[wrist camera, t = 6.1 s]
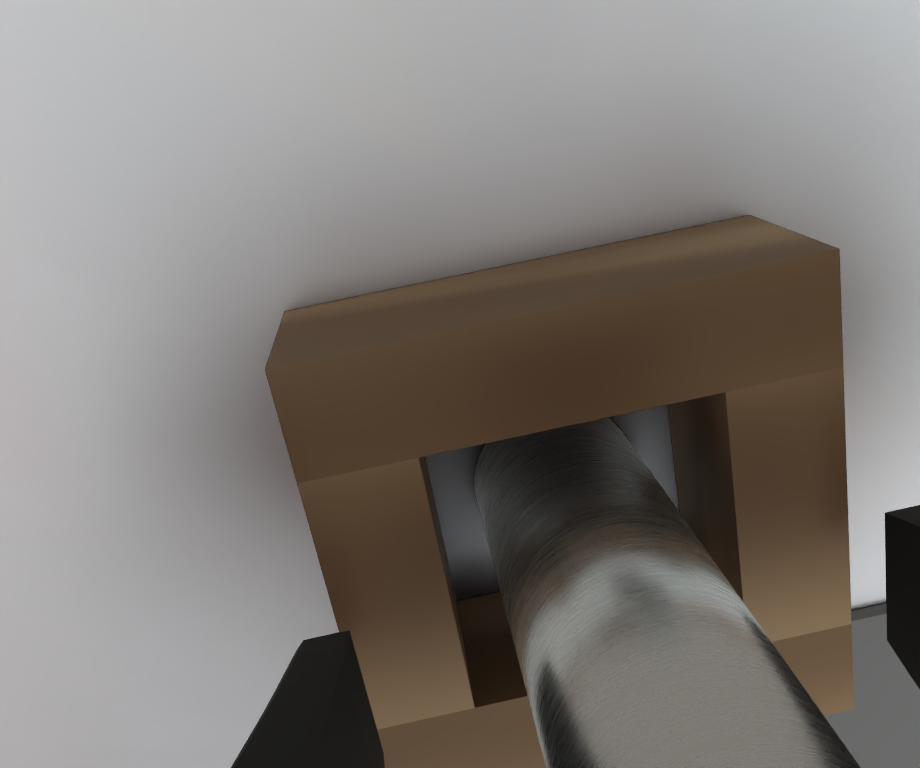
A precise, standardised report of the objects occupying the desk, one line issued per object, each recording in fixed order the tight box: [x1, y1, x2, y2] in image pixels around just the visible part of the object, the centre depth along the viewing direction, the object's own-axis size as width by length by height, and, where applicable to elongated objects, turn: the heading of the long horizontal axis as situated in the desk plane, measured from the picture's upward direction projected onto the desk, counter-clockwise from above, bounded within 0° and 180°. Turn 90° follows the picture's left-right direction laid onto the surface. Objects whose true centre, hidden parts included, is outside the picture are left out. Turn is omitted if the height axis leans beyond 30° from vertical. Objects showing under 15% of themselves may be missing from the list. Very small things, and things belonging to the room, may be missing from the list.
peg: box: [474, 417, 861, 768], centre depth 12 cm, size 3×3×9 cm
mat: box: [824, 603, 920, 768], centre depth 19 cm, size 7×8×1 cm
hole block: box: [265, 215, 854, 768], centre depth 15 cm, size 8×8×3 cm
